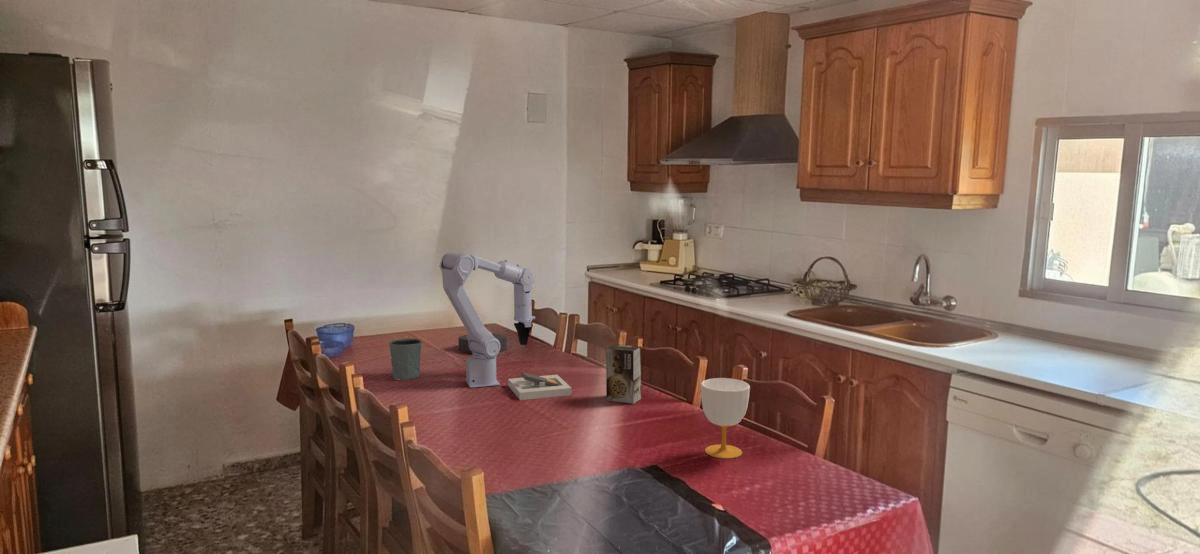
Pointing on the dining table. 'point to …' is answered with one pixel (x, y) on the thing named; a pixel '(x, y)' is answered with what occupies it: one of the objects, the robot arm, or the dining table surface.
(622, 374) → the coffee box
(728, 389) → the cup
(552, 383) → the rocker
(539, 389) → the breaker housing
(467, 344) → the streaming box
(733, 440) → the dining table surface
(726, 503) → the dining table surface
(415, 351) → the green plant pot
